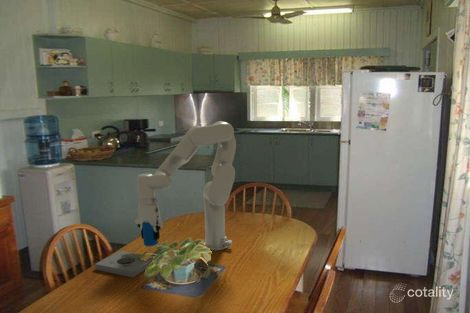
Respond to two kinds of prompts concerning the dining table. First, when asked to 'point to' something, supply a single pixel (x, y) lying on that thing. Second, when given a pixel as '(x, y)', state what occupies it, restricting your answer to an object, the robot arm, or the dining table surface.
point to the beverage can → (148, 235)
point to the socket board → (123, 257)
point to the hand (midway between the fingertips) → (150, 238)
